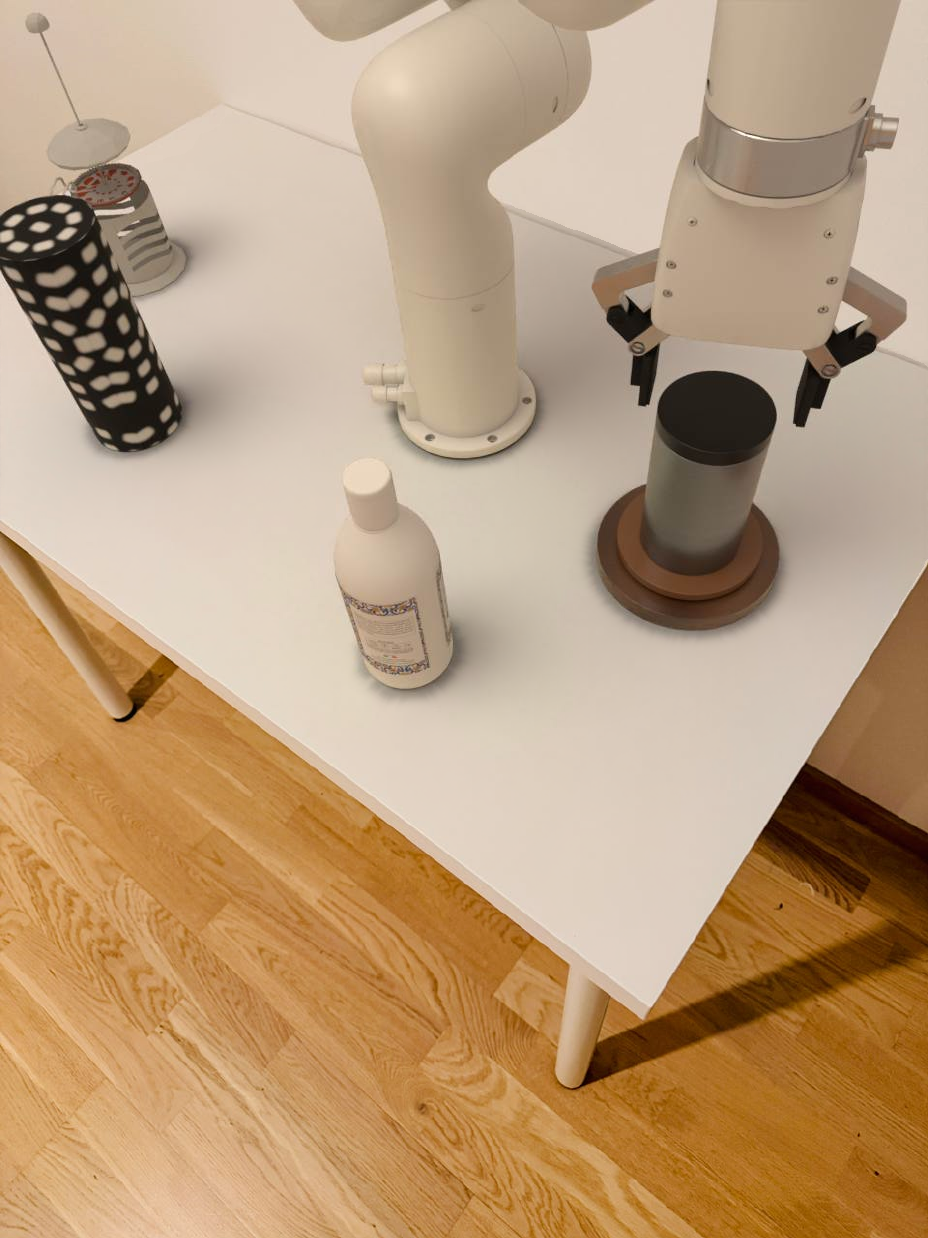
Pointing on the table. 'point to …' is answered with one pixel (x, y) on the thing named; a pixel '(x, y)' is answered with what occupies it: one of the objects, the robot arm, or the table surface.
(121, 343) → the spotted tube
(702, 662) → the table surface
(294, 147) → the table surface
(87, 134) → the french press
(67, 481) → the table surface
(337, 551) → the bath foam
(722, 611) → the turntable base
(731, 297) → the robot arm
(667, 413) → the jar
